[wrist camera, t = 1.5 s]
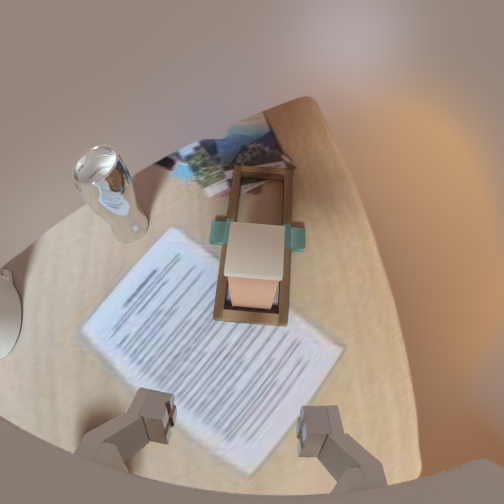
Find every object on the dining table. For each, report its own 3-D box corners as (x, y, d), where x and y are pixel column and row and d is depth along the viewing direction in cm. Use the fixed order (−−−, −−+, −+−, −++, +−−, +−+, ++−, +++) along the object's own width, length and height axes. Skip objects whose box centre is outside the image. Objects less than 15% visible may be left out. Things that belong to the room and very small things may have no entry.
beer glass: (138, 200, 46) (108, 135, 33) (159, 228, 44) (128, 162, 31) (104, 224, 44) (63, 165, 31) (122, 254, 42) (78, 197, 29)
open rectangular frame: (199, 318, 38) (197, 315, 37) (223, 170, 49) (222, 164, 48) (300, 327, 38) (303, 324, 37) (302, 177, 49) (304, 171, 47)
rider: (230, 308, 39) (223, 272, 27) (234, 270, 41) (230, 221, 30) (271, 311, 39) (282, 277, 27) (274, 273, 41) (284, 226, 30)
